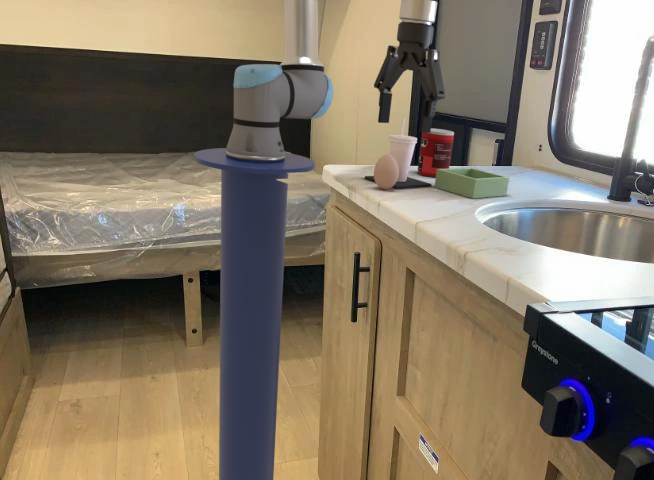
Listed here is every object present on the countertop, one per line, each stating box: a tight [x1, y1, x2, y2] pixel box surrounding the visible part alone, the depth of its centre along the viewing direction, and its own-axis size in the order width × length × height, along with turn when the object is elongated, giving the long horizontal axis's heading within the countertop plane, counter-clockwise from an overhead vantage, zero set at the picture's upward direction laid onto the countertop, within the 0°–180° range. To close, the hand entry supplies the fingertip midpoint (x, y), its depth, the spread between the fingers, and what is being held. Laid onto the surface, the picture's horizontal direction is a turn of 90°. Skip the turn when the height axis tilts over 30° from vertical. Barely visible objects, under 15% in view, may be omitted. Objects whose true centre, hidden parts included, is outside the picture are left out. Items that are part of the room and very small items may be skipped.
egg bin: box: [434, 167, 510, 199], centre depth 135 cm, size 12×12×4 cm
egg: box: [373, 153, 399, 190], centre depth 127 cm, size 5×5×7 cm
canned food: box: [417, 127, 455, 178], centre depth 150 cm, size 8×8×11 cm
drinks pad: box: [364, 175, 433, 190], centre depth 137 cm, size 11×11×1 cm
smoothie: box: [388, 115, 418, 182], centre depth 135 cm, size 6×6×14 cm
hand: (403, 127), depth 133 cm, fingers open, 13 cm apart
